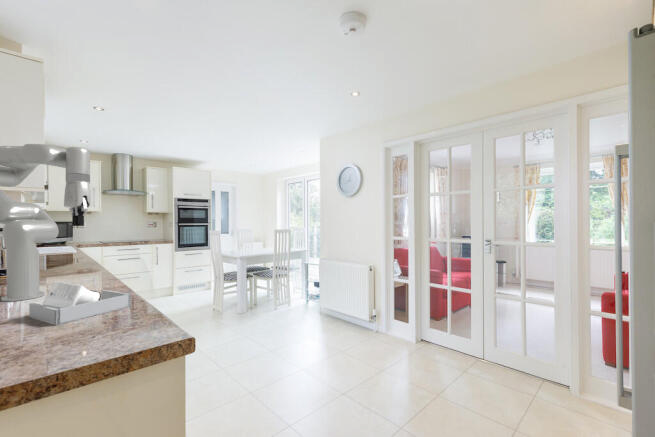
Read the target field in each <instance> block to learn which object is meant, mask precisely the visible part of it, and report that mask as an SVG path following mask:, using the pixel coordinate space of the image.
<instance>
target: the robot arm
mask: <svg viewBox="0 0 655 437" xmlns="http://www.w3.org/2000/svg"><path fill="white" fill-rule="evenodd" d="M39 165H44V166H46V165H47V166H53V167H57V168H63V169H65V188H64V196H63V197H64V198H63V206H64V207H65V208H67V209H68V210H69V212H70V213H71V217H72V221H71V222H72V223H71V224H72V226H73V227H83V226H84V225H85V214H86V211H88V208H90V206H91V188H90V184H91V152H90V150H89V149H86V148H84V147H79V146H69V147H67V148H62V147H58V146H54V145H49V144H44V143H26V144H24V145H1V146H0V187H8V188H10V187H11V188H12V187H17V186H19V185H20V184H21V183H22V182H23V181H25V179H27V178H28V177H29V175H31V174H32V173H33V172H34V170H35V169H37V167H38V166H39ZM0 224H2V225H3V228H2V236H3V239H4V244H5V251H6V253H5V255H6V256H5V258H6V294H5V295H4V296H1V297H0V301H1V302H17V301H27V300H33V299H37V298H42V297H44V296H45V291H40V251H39V249H38V248H37V246H36V245H35V243H43V242H45V243H46V242H51V241H53V240H55V239H56V238H57V237H58V236H59V226H58V224H57V223H56V222H55V220H53V218H52V217H51V216H50V215H49V214H48V213H47V211H45V209H44V208H43V207H41V206H40V205H38V204H36V203H33V202H23V201H16V200H13V199H12V198H11V197H10V196H9V195H8V193H7V192H6V191H4V190H3V189H1V188H0Z"/></svg>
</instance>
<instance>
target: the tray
mask: <svg viewBox="0 0 655 437" xmlns="http://www.w3.org/2000/svg"><path fill="white" fill-rule="evenodd" d="M100 293H101V298H100V300H98V301H94V302H89V303H84V304H79V305H75V306H70V307H65V308H61V309H57V308H52V307H48V306H45V305H43V304H40V303H35V302H32V303H29V305H28V306H29V307H28V308H29V309H28V311H29V315H28V316H29V317H28V318H29V319H33V320H35V321H39V322H43V323H47V324H49V325H53V326H59V325H63V324H64V325H65V324H67V323H71V322H76V321H80V320H85V319H87V318H92V317H95V316H99V315H104V314H107V313H111V312H115V311H119V310H123V309H127V308H130V307H132V294H131V293H126V292H120V291H114V290H109V289H108V290H107V289H101V292H100Z"/></svg>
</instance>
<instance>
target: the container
mask: <svg viewBox="0 0 655 437" xmlns="http://www.w3.org/2000/svg"><path fill="white" fill-rule="evenodd" d="M98 300H101V292H100V291H96V290H91V289H87V288H86V287H85V286H83V285H81V284H75V283H69V282H65V281H60V280H54V282H53V284H52V285H51V287H50V289H49V291H48V293H47V295H46V297H45V299H44V300H43V303H42V305H44V306H48V307H52V308H57V309H61V308H65V307H70V306H75V305H79V304H84V303H89V302H94V301H98Z"/></svg>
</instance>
